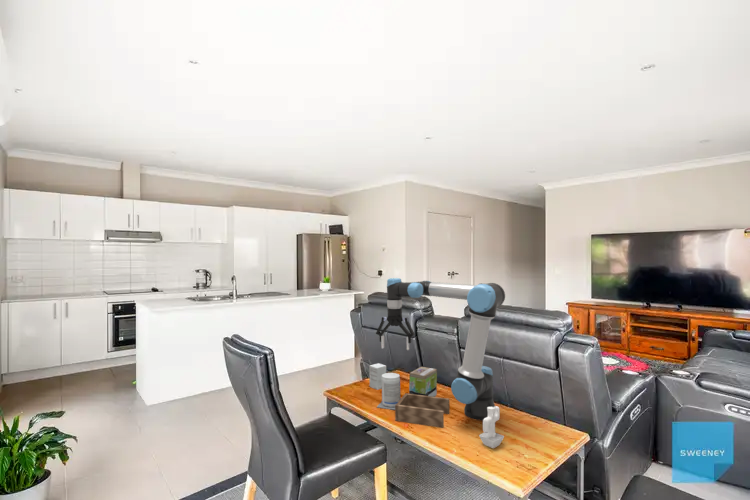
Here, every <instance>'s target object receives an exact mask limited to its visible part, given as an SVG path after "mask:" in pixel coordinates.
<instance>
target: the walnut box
mask: <svg viewBox="0 0 750 500" xmlns="http://www.w3.org/2000/svg"><path fill="white" fill-rule="evenodd" d="M450 409H451V407H450V398H447V397H439V396H435V397H432V396H424V395H416V394H409V393H404V394H403V395H402V397H400V400H399V401H398V403H397V404H396V405H395V410H394V415H395V416H394V419H395V421H396V422H403V423H408V424H415V425H423V426H429V427H434V428H435V427H436V428H440V429H443V428H444V426H445V425H444V415H450V412H451V411H450Z"/></svg>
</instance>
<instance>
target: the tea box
mask: <svg viewBox="0 0 750 500" xmlns="http://www.w3.org/2000/svg"><path fill="white" fill-rule="evenodd" d="M437 381H438V369H437V368H432V367H431V368H430V367H428V366H427V367H425V366H420V367H418V368H416V369H414V370H413V371H412V370H411V372H409V385H408V387H409V388H408V390H409V393H408V394H416V395H424V396H432V397H437V393H438V391H437V390H438V388H437V386H438V385H437V384H438V382H437Z"/></svg>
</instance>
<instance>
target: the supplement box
mask: <svg viewBox="0 0 750 500" xmlns="http://www.w3.org/2000/svg"><path fill="white" fill-rule="evenodd" d="M368 367H369V368H368V369H369V371H368V372H369V387H370V388H372V389H373V390H377V391H379V390H382V375H383V374H385V373H387V365H385V364H382V363H379V362H377V363H374V364H371V365H368Z"/></svg>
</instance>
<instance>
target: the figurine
mask: <svg viewBox="0 0 750 500" xmlns="http://www.w3.org/2000/svg"><path fill="white" fill-rule="evenodd" d="M487 411H488V416H487V417H486V418H484V419H483V421H482V431H483V432H482V433H479V434H478V437H479V438H480V440H481V441H482V444H483V445H484V446H487V447H489V448H491V449H495V448H497V447H498V446H500V445H501V443H502V442H503V440H504V437H505V436H504V435H502V434H501V433H497V432H496V422H497V421H499V420H500V411H501V410H500V407H499V406H497V405H495V407H487Z"/></svg>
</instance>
